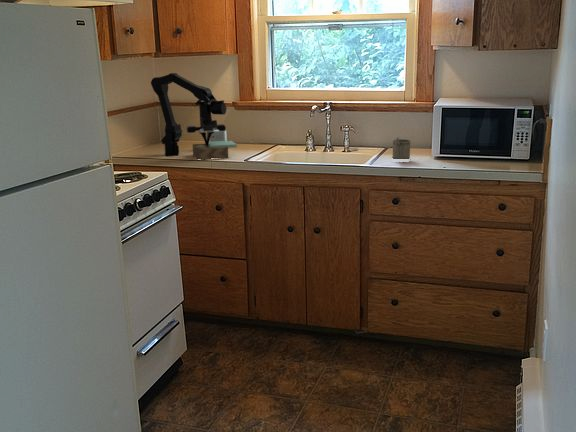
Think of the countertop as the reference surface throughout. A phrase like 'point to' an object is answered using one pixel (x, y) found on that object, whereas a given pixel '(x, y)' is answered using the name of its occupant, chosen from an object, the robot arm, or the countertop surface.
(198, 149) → the walnut box
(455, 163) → the countertop surface
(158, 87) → the robot arm
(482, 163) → the countertop surface
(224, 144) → the cover plate
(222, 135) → the small box
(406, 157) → the jerry can
